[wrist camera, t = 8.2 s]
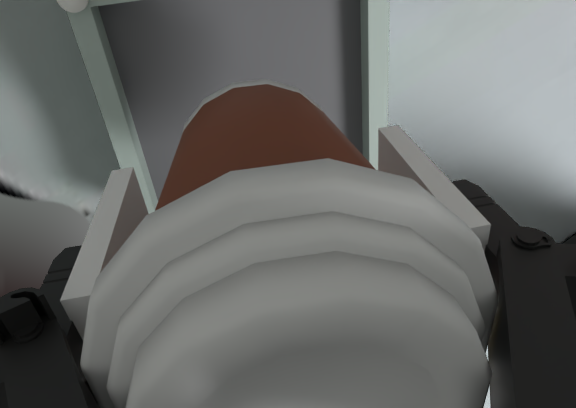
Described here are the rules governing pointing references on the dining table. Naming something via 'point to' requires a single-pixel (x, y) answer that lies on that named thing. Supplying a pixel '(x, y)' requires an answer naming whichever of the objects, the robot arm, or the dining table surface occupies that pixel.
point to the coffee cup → (289, 276)
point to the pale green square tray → (227, 66)
